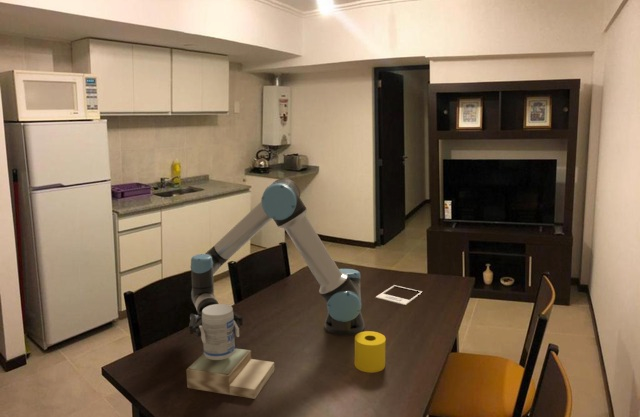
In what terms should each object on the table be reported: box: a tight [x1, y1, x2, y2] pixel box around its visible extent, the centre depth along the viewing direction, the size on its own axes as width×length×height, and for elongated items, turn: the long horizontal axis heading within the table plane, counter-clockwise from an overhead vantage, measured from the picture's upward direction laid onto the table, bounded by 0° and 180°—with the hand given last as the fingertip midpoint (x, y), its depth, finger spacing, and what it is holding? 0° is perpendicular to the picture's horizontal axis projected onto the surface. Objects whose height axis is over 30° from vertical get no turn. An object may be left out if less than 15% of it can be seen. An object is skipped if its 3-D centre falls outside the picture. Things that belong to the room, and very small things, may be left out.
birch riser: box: [185, 347, 275, 400], centre depth 149 cm, size 22×16×6 cm
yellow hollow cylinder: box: [354, 330, 387, 373], centre depth 157 cm, size 10×10×9 cm
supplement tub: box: [202, 303, 236, 360], centre depth 148 cm, size 10×10×15 cm
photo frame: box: [375, 284, 423, 306], centre depth 218 cm, size 15×1×18 cm
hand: (221, 335), depth 143 cm, fingers closed on supplement tub, 9 cm apart
